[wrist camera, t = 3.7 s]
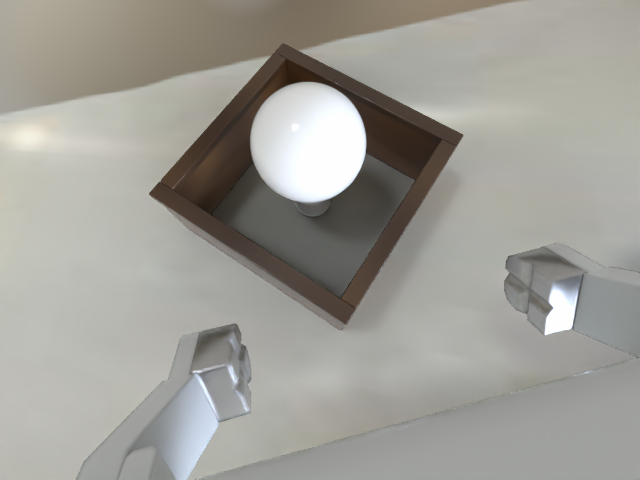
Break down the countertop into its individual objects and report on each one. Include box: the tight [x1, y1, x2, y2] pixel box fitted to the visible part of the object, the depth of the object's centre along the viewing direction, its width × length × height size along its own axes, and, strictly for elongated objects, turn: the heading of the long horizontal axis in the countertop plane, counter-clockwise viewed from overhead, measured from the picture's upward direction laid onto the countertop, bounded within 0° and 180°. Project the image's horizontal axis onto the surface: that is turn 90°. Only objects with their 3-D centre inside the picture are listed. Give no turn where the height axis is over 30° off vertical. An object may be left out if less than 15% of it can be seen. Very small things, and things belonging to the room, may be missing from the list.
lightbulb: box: [250, 82, 366, 216], centre depth 22 cm, size 6×6×11 cm
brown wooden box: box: [149, 44, 463, 330], centre depth 24 cm, size 14×14×6 cm
